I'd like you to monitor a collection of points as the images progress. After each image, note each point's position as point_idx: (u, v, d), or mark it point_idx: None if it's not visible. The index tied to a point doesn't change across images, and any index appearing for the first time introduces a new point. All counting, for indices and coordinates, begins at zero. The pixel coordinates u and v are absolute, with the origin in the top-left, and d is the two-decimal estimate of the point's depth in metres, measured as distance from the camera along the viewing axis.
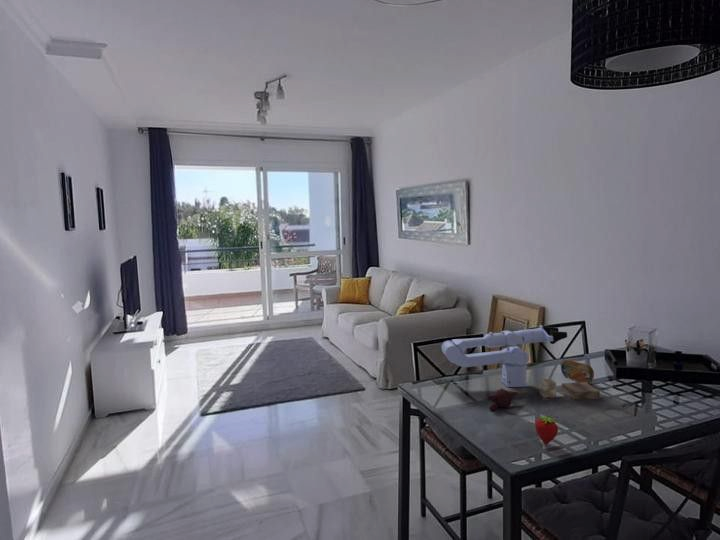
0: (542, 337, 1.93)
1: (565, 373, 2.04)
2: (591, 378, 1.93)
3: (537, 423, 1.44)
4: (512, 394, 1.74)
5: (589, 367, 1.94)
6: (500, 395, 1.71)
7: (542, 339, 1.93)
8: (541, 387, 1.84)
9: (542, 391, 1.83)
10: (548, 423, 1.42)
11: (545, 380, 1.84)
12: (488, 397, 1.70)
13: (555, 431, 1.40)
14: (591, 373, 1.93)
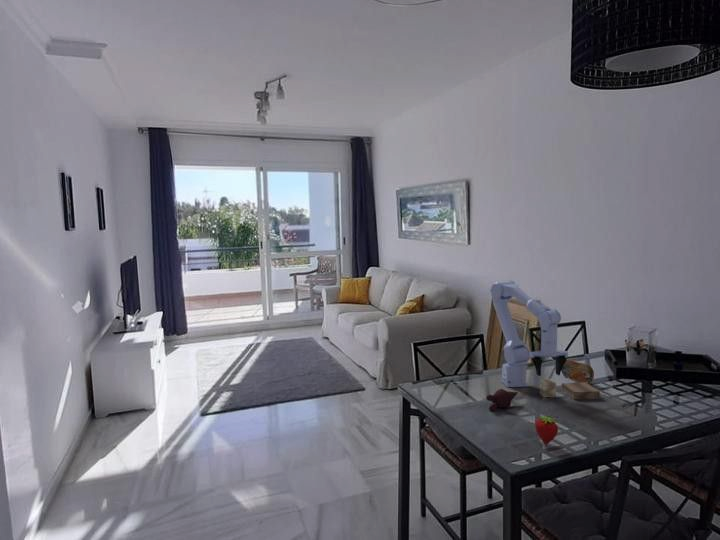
0: (541, 350, 1.82)
1: (565, 373, 2.04)
2: (591, 378, 1.93)
3: (537, 423, 1.44)
4: (512, 394, 1.73)
5: (589, 367, 1.94)
6: (500, 395, 1.71)
7: (541, 350, 1.83)
8: (541, 387, 1.84)
9: (542, 391, 1.83)
10: (548, 423, 1.42)
11: (545, 380, 1.84)
12: (488, 397, 1.70)
13: (555, 431, 1.40)
14: (591, 373, 1.93)
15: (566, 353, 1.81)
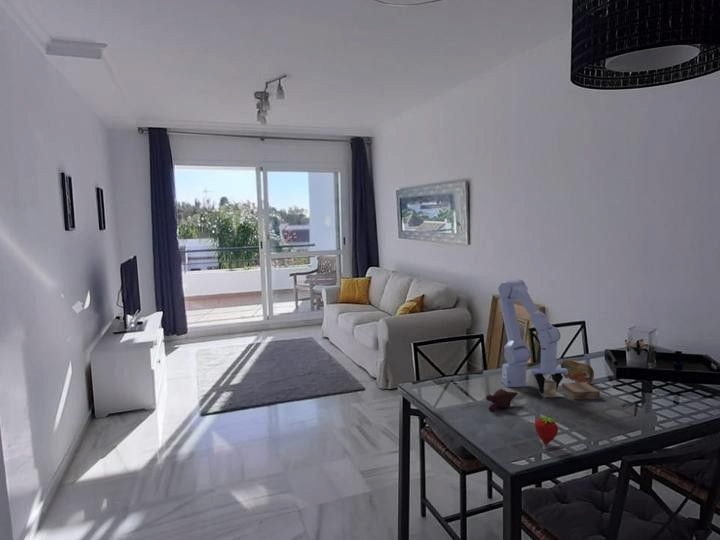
0: (541, 367, 1.83)
1: None
2: (591, 378, 1.93)
3: (537, 423, 1.44)
4: (512, 394, 1.73)
5: (589, 367, 1.94)
6: (500, 395, 1.71)
7: None
8: None
9: None
10: (548, 423, 1.42)
11: (545, 380, 1.84)
12: (487, 397, 1.70)
13: (555, 431, 1.40)
14: (591, 373, 1.93)
15: (566, 371, 1.82)
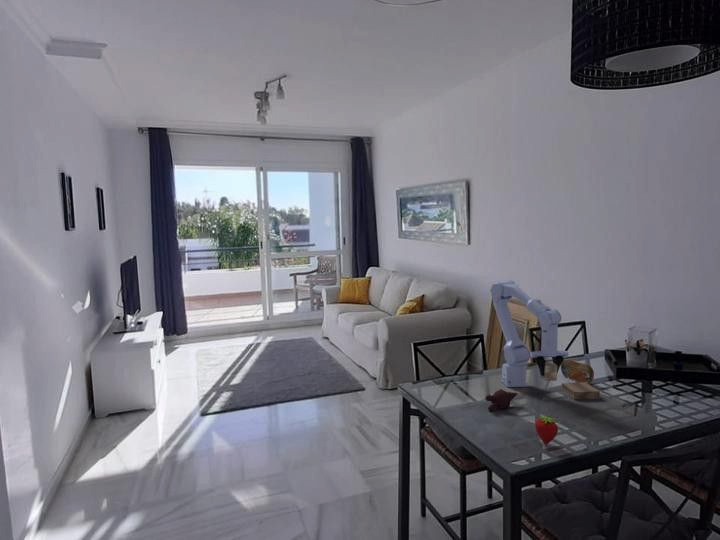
0: (541, 350, 1.82)
1: (565, 373, 2.04)
2: (591, 378, 1.93)
3: (537, 423, 1.44)
4: (511, 395, 1.73)
5: (589, 367, 1.94)
6: (499, 395, 1.70)
7: (541, 350, 1.83)
8: None
9: None
10: (548, 423, 1.42)
11: (546, 363, 1.83)
12: (487, 398, 1.70)
13: (555, 431, 1.40)
14: (591, 373, 1.93)
15: (566, 353, 1.81)
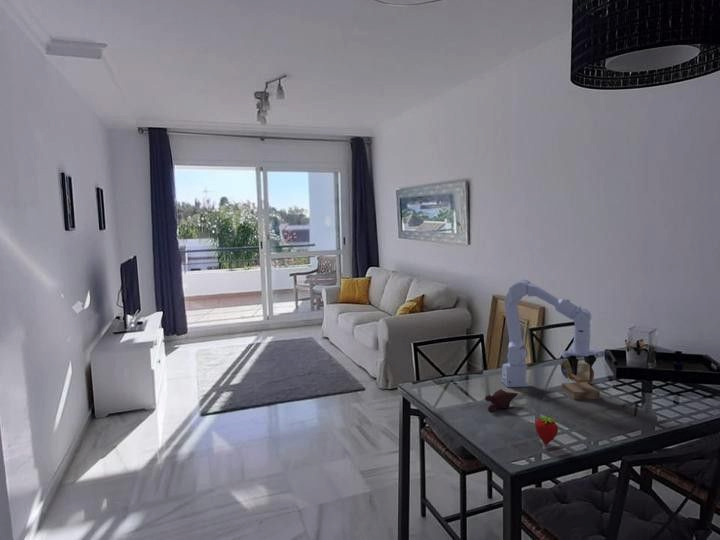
0: (574, 349, 1.82)
1: (565, 373, 2.04)
2: (591, 378, 1.93)
3: (537, 423, 1.44)
4: (511, 395, 1.73)
5: None
6: (499, 395, 1.70)
7: (573, 349, 1.83)
8: None
9: None
10: (548, 423, 1.42)
11: (578, 362, 1.83)
12: (486, 398, 1.69)
13: (555, 431, 1.40)
14: (591, 373, 1.93)
15: (599, 352, 1.81)
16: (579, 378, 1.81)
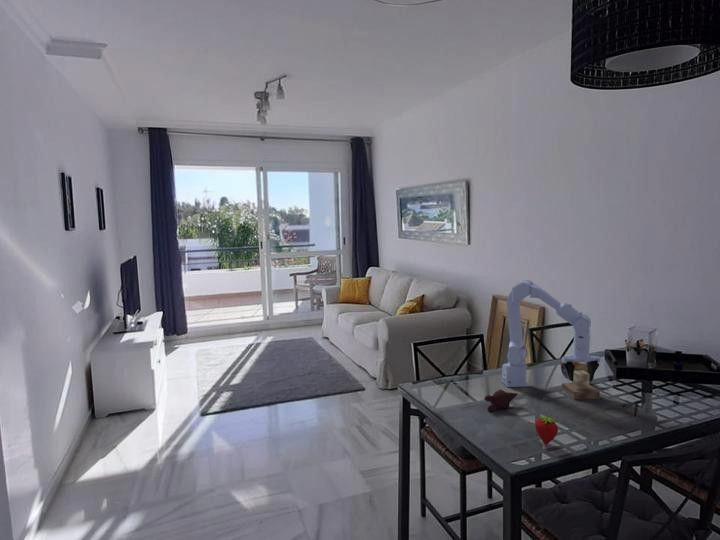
0: (573, 355, 1.83)
1: (565, 373, 2.04)
2: None
3: (537, 423, 1.44)
4: (511, 395, 1.72)
5: None
6: (499, 396, 1.70)
7: (573, 355, 1.84)
8: (574, 378, 1.84)
9: (575, 383, 1.83)
10: (548, 423, 1.42)
11: (578, 372, 1.84)
12: (486, 398, 1.69)
13: (555, 431, 1.40)
14: None
15: (599, 358, 1.82)
16: (579, 387, 1.81)
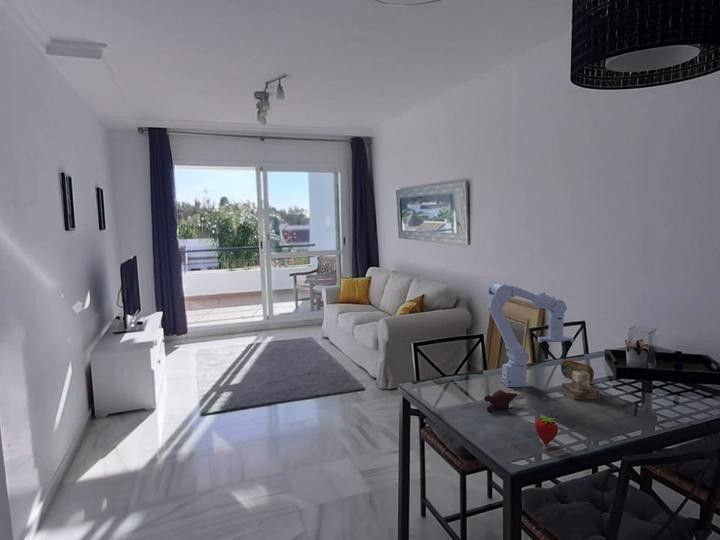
0: (548, 336, 1.97)
1: (565, 373, 2.04)
2: (591, 378, 1.93)
3: (537, 423, 1.44)
4: (511, 396, 1.72)
5: (589, 367, 1.94)
6: (498, 396, 1.70)
7: None
8: (574, 378, 1.84)
9: (575, 383, 1.83)
10: (548, 423, 1.42)
11: (578, 372, 1.84)
12: (485, 398, 1.69)
13: (555, 431, 1.40)
14: (591, 373, 1.93)
15: (572, 338, 1.96)
16: (579, 387, 1.81)
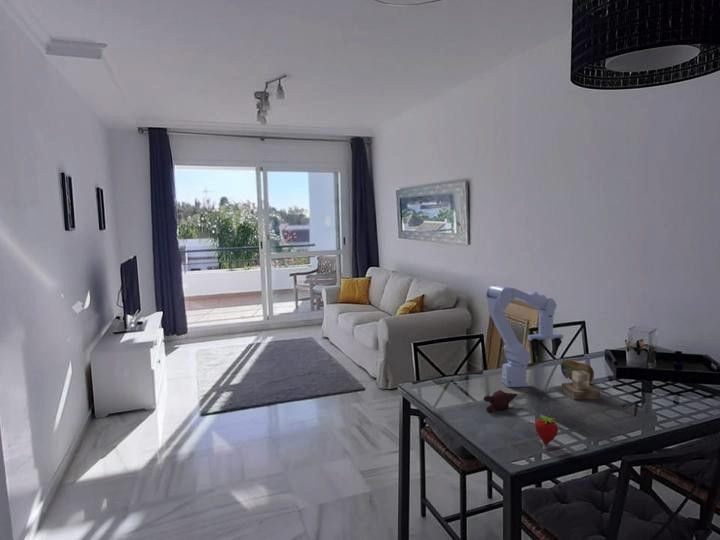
0: None
1: (565, 373, 2.04)
2: (591, 378, 1.93)
3: (537, 423, 1.44)
4: (511, 396, 1.72)
5: (589, 367, 1.94)
6: (498, 396, 1.70)
7: None
8: (574, 378, 1.84)
9: (575, 383, 1.83)
10: (548, 423, 1.42)
11: (578, 372, 1.84)
12: (485, 398, 1.69)
13: (555, 431, 1.40)
14: (591, 373, 1.93)
15: (561, 336, 2.00)
16: (579, 387, 1.81)
